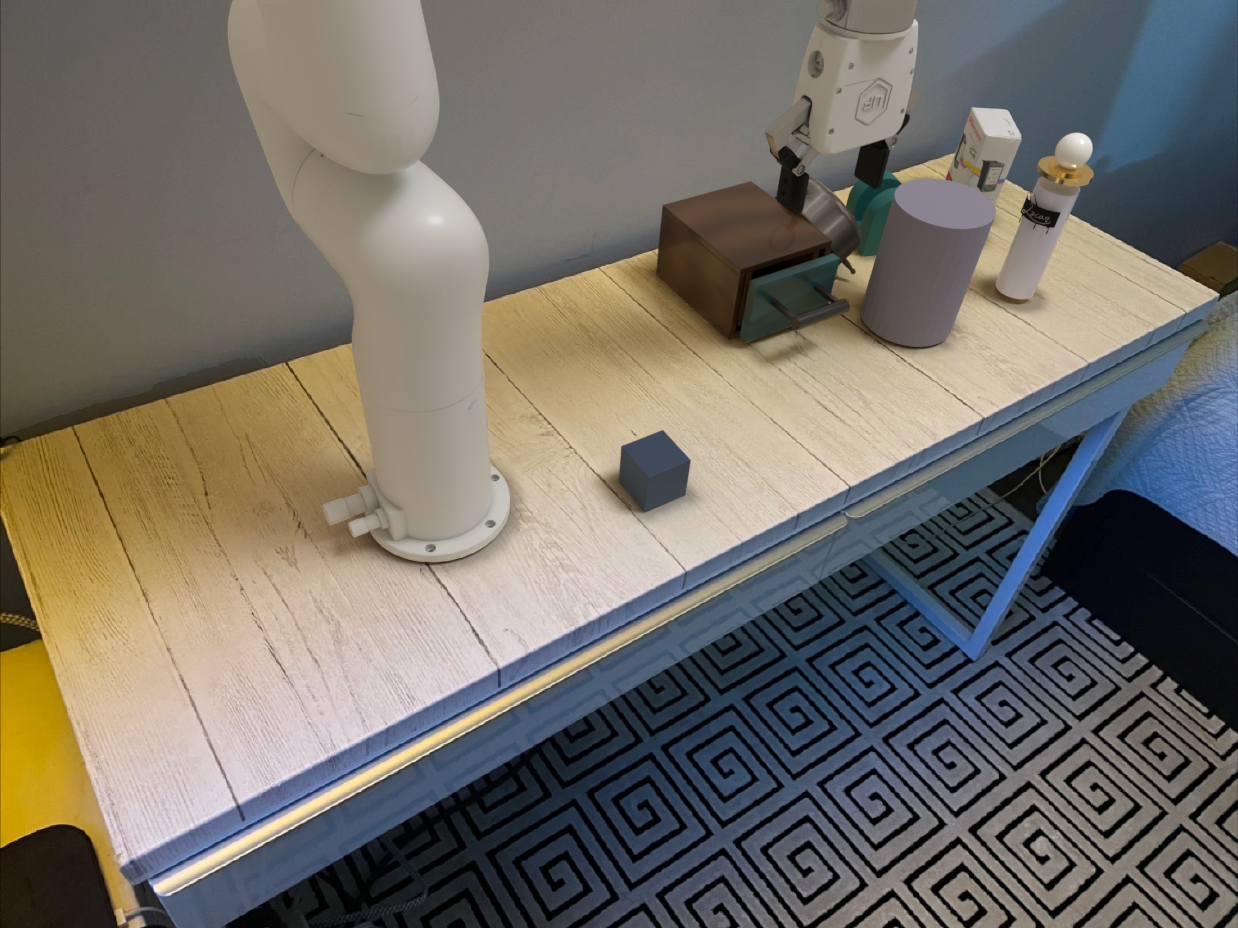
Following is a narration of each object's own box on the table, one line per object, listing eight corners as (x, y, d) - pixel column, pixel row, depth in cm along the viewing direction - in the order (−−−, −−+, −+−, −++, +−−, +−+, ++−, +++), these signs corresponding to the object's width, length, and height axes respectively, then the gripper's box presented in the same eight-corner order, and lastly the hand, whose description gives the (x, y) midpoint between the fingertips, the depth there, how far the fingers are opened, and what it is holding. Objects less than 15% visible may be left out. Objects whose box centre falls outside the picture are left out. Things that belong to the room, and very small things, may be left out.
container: (841, 315, 105) (874, 196, 95) (896, 285, 110) (933, 169, 100) (914, 360, 100) (957, 239, 89) (968, 327, 105) (1015, 209, 94)
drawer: (855, 337, 101) (871, 281, 96) (774, 368, 96) (787, 311, 91) (753, 255, 111) (763, 201, 106) (676, 280, 107) (682, 224, 102)
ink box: (941, 187, 128) (968, 104, 120) (977, 190, 128) (1006, 107, 120) (954, 219, 122) (983, 134, 114) (992, 222, 122) (1024, 137, 114)
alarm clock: (794, 244, 116) (742, 166, 103) (825, 212, 115) (777, 130, 102) (850, 288, 109) (802, 210, 97) (883, 255, 109) (839, 172, 96)
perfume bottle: (1004, 274, 113) (1069, 117, 99) (1046, 296, 110) (1119, 137, 96) (978, 290, 110) (1041, 130, 96) (1020, 313, 107) (1092, 152, 93)
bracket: (862, 256, 114) (878, 198, 109) (840, 228, 119) (854, 171, 113) (989, 243, 118) (1011, 187, 113) (963, 216, 123) (982, 161, 117)
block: (644, 512, 82) (648, 477, 79) (618, 480, 85) (621, 445, 81) (685, 494, 84) (691, 460, 81) (658, 464, 86) (662, 429, 83)
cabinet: (815, 309, 106) (832, 239, 99) (728, 340, 101) (740, 269, 94) (739, 248, 114) (750, 180, 108) (655, 273, 109) (662, 204, 103)
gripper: (818, 40, 69) (782, 237, 82) (977, 2, 76) (922, 190, 88) (757, 7, 74) (732, 199, 86) (913, -26, 80) (869, 157, 93)
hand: (828, 194), depth 87 cm, fingers open, 9 cm apart
